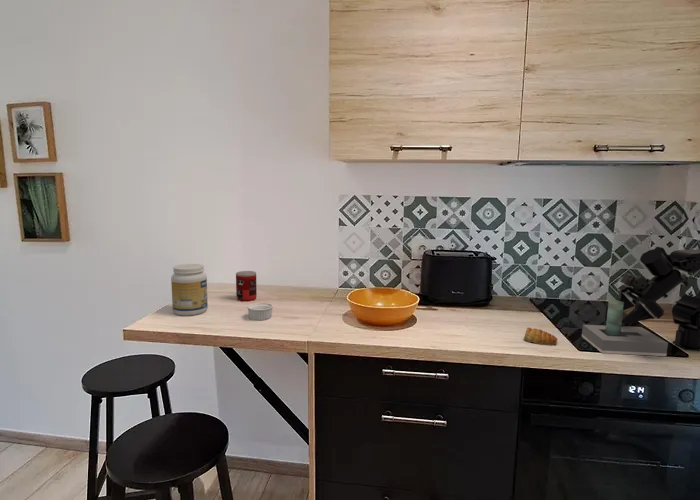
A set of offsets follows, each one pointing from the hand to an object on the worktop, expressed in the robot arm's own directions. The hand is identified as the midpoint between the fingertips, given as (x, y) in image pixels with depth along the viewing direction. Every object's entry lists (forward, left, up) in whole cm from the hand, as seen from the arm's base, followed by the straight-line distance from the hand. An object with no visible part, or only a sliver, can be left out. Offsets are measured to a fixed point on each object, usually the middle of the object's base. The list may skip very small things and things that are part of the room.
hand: (616, 318), depth 137 cm
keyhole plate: (-3, 0, -9) cm, 9 cm away
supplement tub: (+141, -15, -9) cm, 143 cm away
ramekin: (+114, -12, -9) cm, 115 cm away
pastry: (+22, -1, -9) cm, 24 cm away
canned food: (+126, -34, -9) cm, 131 cm away
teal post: (0, 0, -8) cm, 8 cm away
